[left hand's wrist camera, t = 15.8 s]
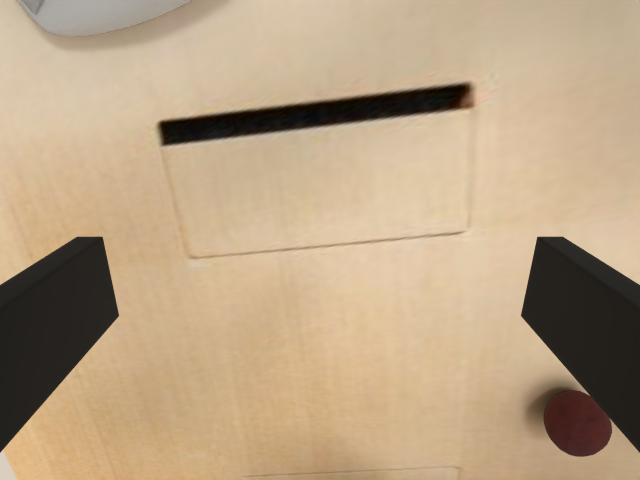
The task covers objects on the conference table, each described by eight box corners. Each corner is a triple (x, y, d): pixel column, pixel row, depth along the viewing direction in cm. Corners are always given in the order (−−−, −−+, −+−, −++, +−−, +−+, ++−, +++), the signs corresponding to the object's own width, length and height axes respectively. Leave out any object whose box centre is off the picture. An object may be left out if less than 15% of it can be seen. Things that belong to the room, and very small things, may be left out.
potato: (530, 425, 55) (558, 471, 49) (537, 380, 53) (568, 422, 46) (584, 422, 55) (619, 468, 49) (594, 377, 52) (633, 419, 46)
